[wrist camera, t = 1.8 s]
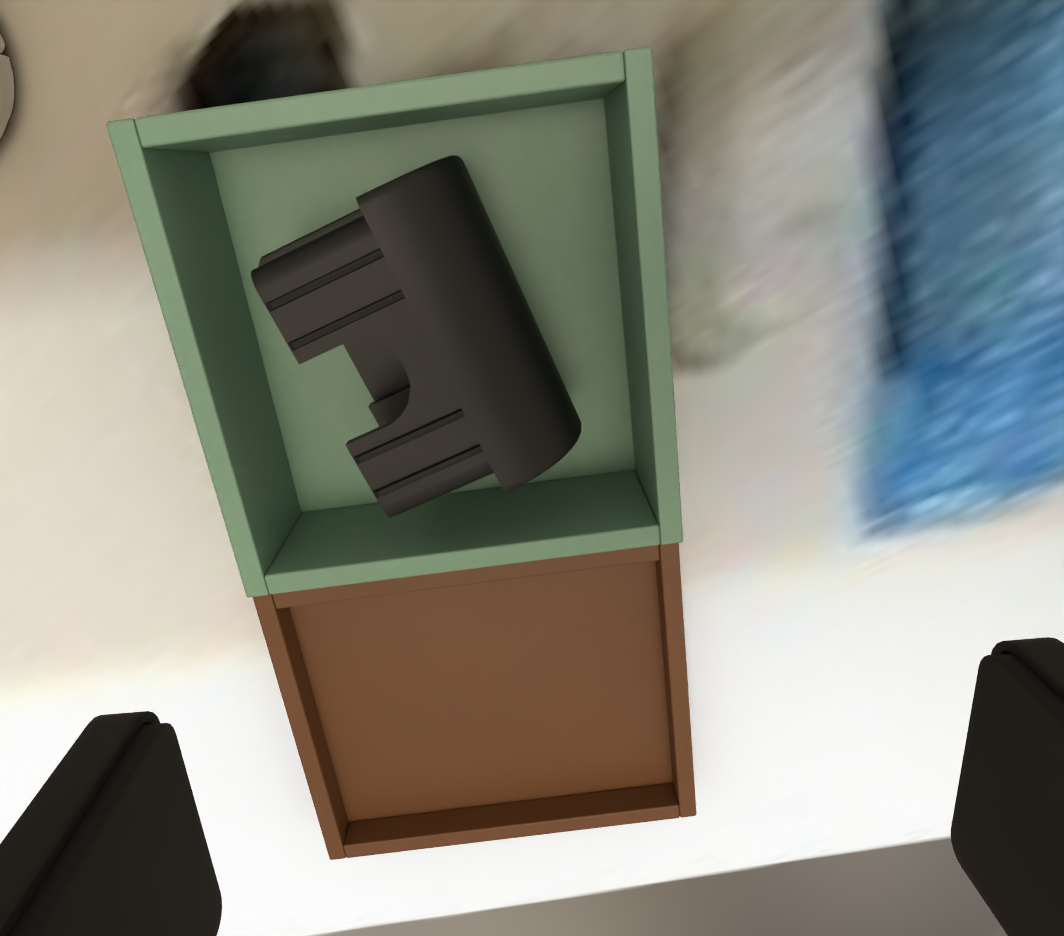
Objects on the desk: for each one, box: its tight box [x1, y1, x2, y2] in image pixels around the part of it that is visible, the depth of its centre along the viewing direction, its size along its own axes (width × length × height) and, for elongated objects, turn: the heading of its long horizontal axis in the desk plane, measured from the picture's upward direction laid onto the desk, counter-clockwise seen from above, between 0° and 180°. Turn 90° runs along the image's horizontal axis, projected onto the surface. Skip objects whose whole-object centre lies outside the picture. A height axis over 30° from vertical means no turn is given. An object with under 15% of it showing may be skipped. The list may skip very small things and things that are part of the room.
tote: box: [106, 47, 683, 597], centre depth 27 cm, size 16×16×6 cm
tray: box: [253, 543, 696, 860], centre depth 35 cm, size 18×15×2 cm
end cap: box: [251, 155, 581, 517], centre depth 27 cm, size 10×7×7 cm
